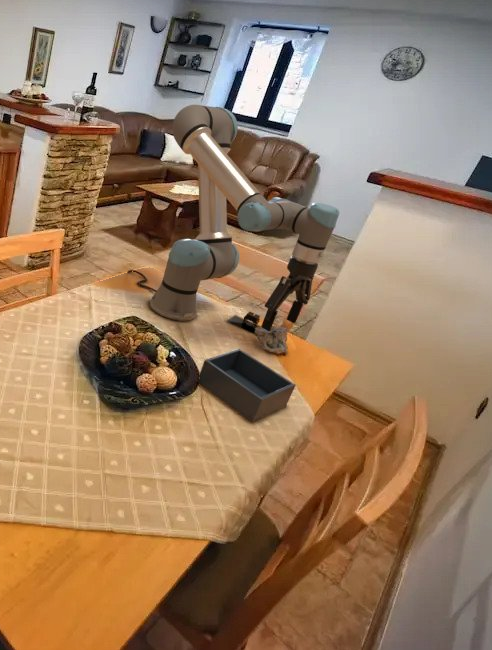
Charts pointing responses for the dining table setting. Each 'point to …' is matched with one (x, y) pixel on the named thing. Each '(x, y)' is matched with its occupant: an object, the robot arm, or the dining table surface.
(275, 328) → the mineral specimen
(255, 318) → the build plate
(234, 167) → the robot arm
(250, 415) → the dark blue storage bin
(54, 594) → the dining table surface
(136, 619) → the dining table surface
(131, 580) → the dining table surface
